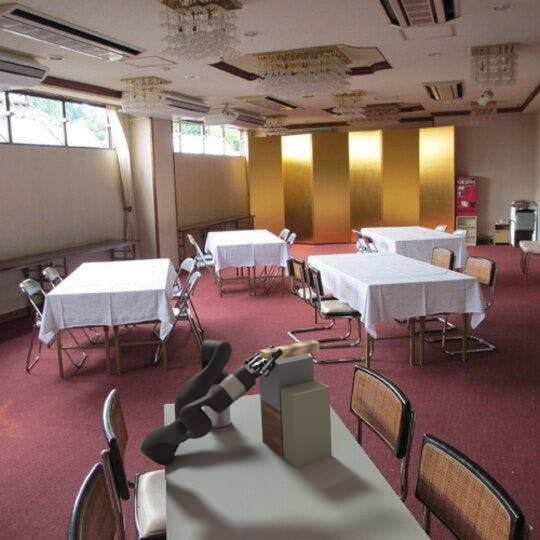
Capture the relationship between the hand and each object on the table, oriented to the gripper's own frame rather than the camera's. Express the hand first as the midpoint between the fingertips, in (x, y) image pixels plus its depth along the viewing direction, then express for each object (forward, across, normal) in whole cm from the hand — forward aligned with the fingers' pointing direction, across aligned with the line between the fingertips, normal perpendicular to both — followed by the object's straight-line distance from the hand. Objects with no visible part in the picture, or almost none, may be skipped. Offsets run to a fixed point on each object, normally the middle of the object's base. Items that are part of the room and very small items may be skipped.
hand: (277, 349), depth 182 cm
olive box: (-11, 0, -38) cm, 40 cm away
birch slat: (+3, 0, -5) cm, 5 cm away
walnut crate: (-11, -12, -38) cm, 42 cm away
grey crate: (-3, -12, -25) cm, 27 cm away
